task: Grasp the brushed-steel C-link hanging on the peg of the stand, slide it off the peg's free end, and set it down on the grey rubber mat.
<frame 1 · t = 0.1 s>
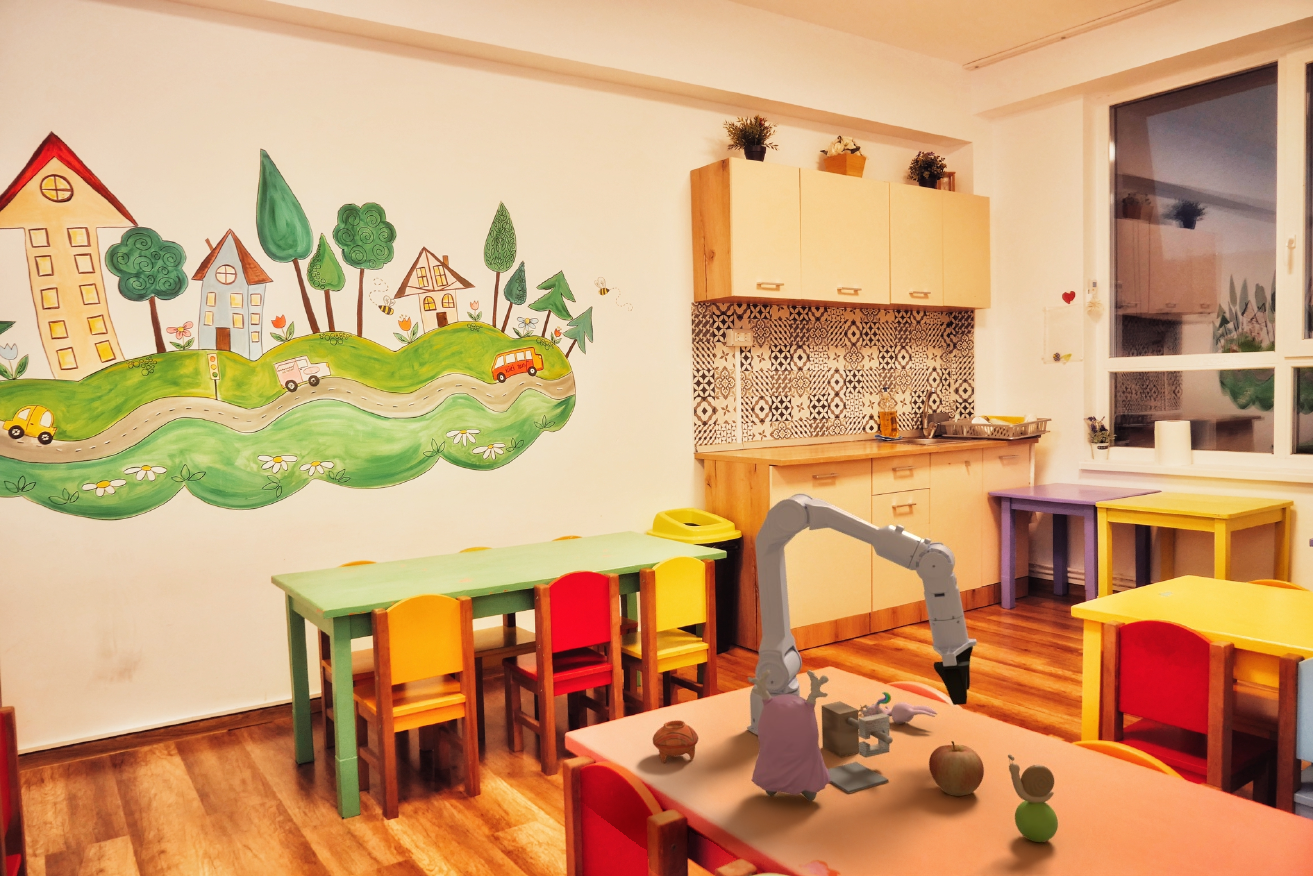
hand: (961, 696, 149), 11 cm above the table, tool pointing down, fingers open, 7 cm apart
rabbit figure: (896, 724, 167), on the table
apple: (956, 793, 137), on the table
stand: (840, 750, 155), on the table
pot: (676, 759, 154), on the table
toy character: (791, 798, 137), on the table
snail figurine: (1033, 841, 122), on the table
link: (874, 753, 146), point 3 cm above the table, touching stand
mat: (852, 778, 143), on the table
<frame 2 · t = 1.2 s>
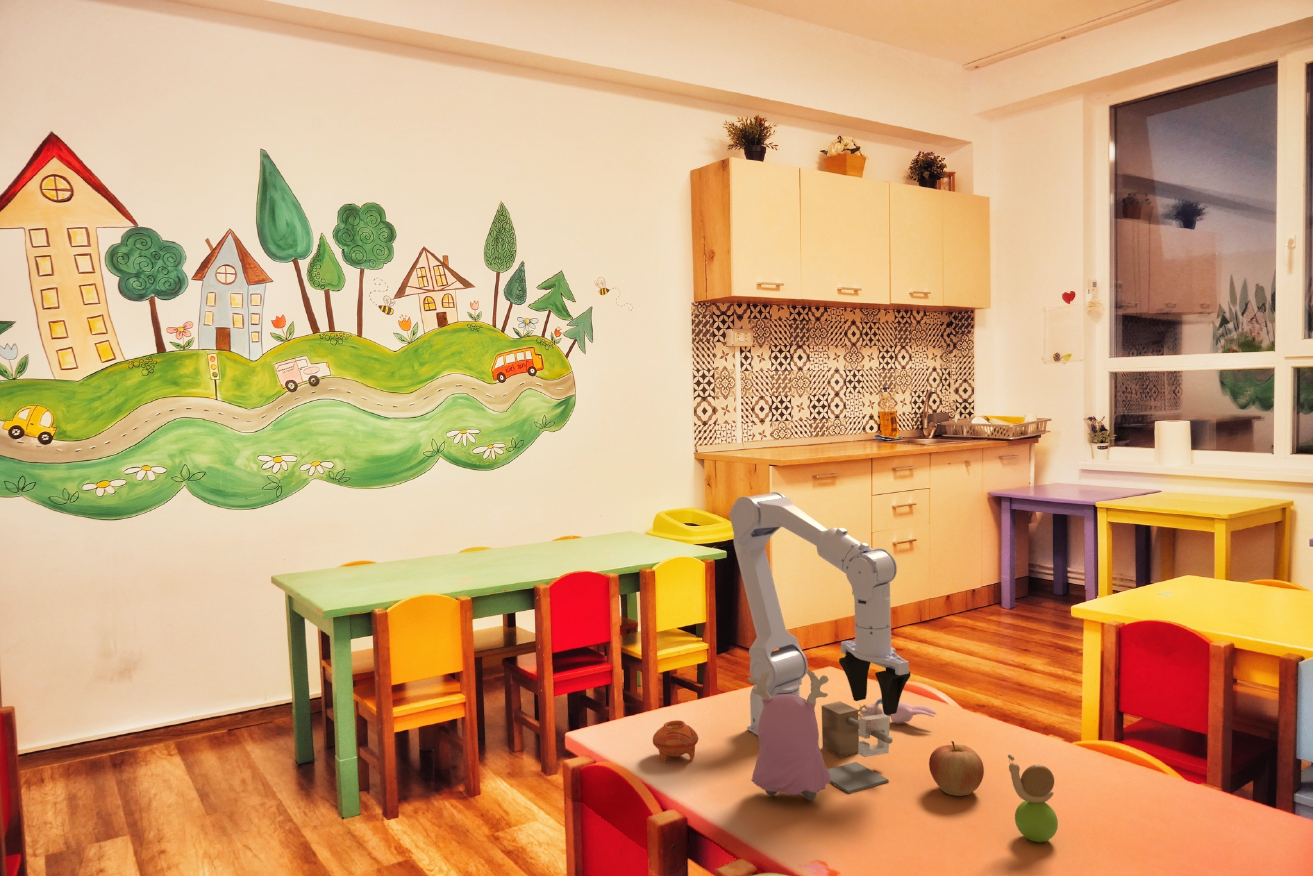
hand: (874, 706, 146), 10 cm above the table, tool pointing down, fingers open, 7 cm apart
nothing on the table moved.
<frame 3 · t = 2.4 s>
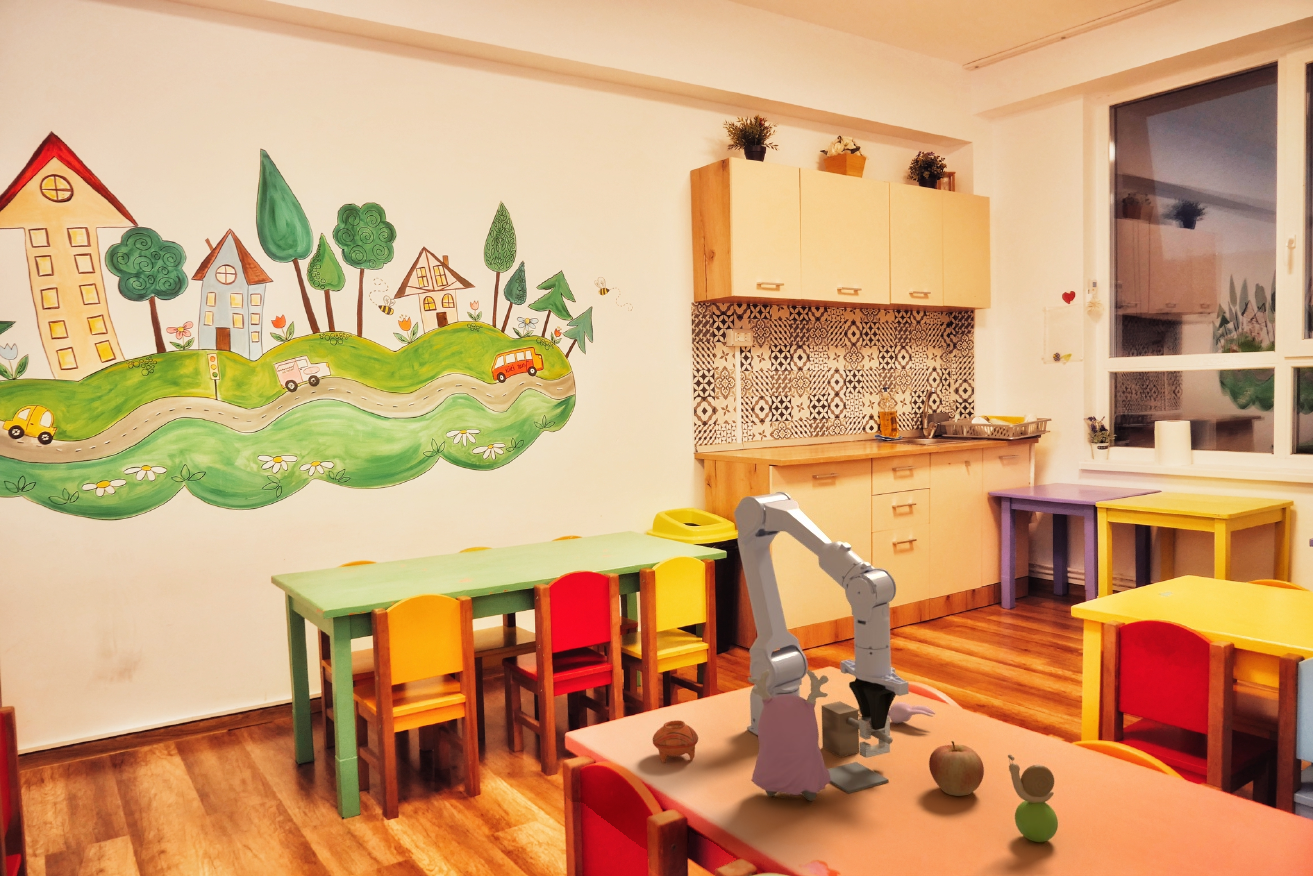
hand: (874, 726, 146), 7 cm above the table, tool pointing down, fingers closed on link, 1 cm apart
link: (874, 753, 146), point 3 cm above the table, touching gripper, stand
everything else where it was.
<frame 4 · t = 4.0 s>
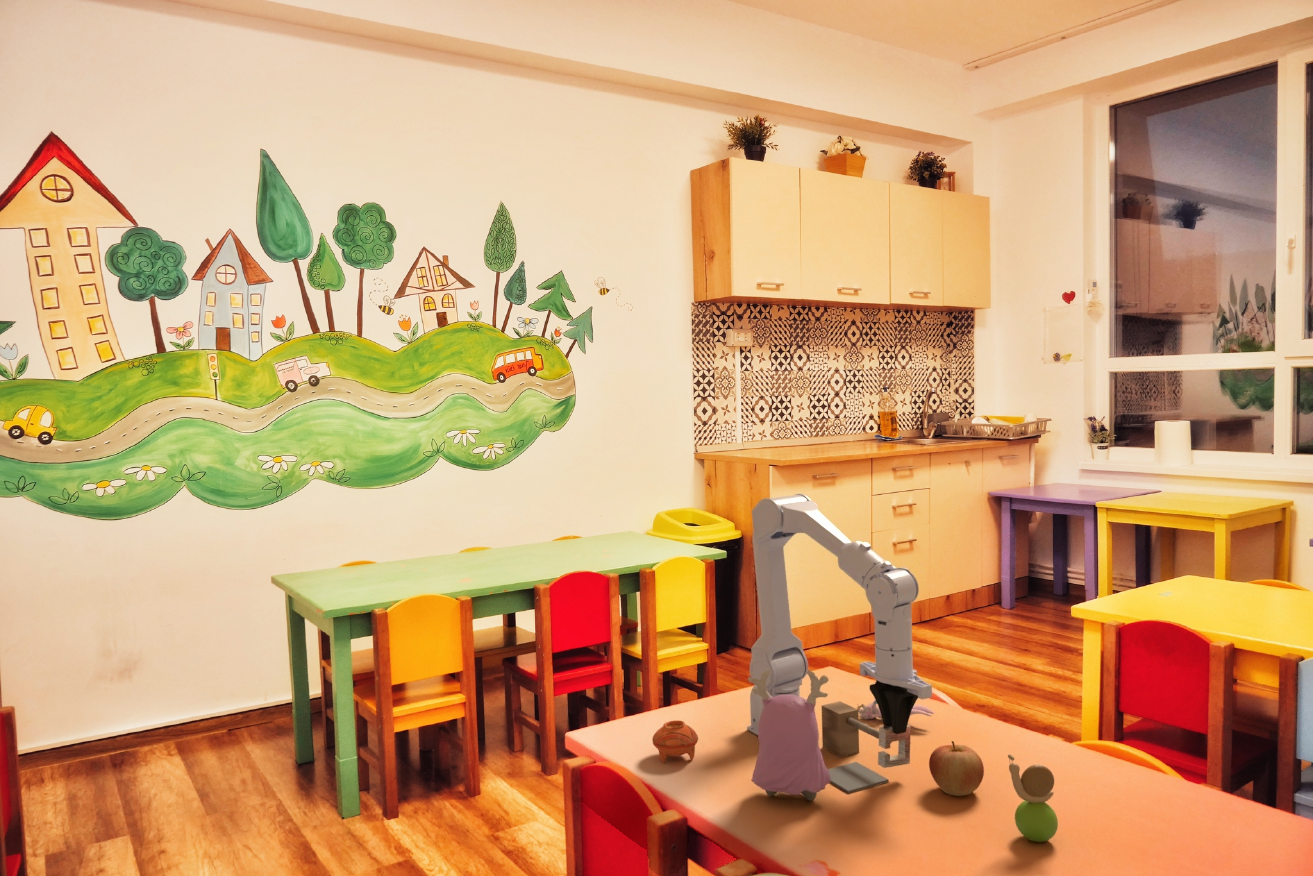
hand: (895, 730, 142), 8 cm above the table, tool pointing down, fingers closed on link, 1 cm apart
link: (893, 764, 142), point 3 cm above the table, touching gripper
everything else where it was.
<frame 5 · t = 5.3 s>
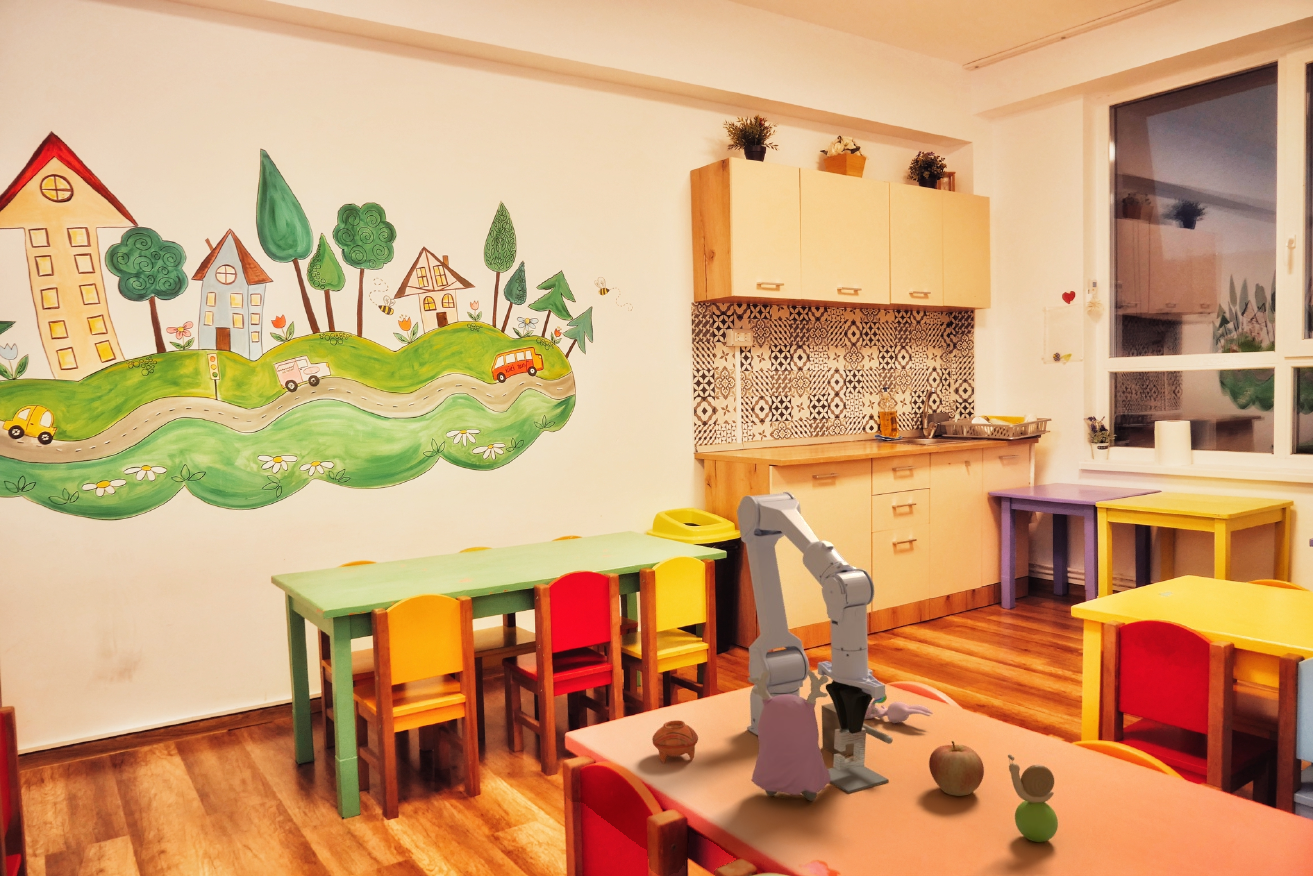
hand: (851, 729, 143), 8 cm above the table, tool pointing down, fingers closed on link, 1 cm apart
link: (848, 766, 143), point 2 cm above the table, touching gripper
everything else where it was.
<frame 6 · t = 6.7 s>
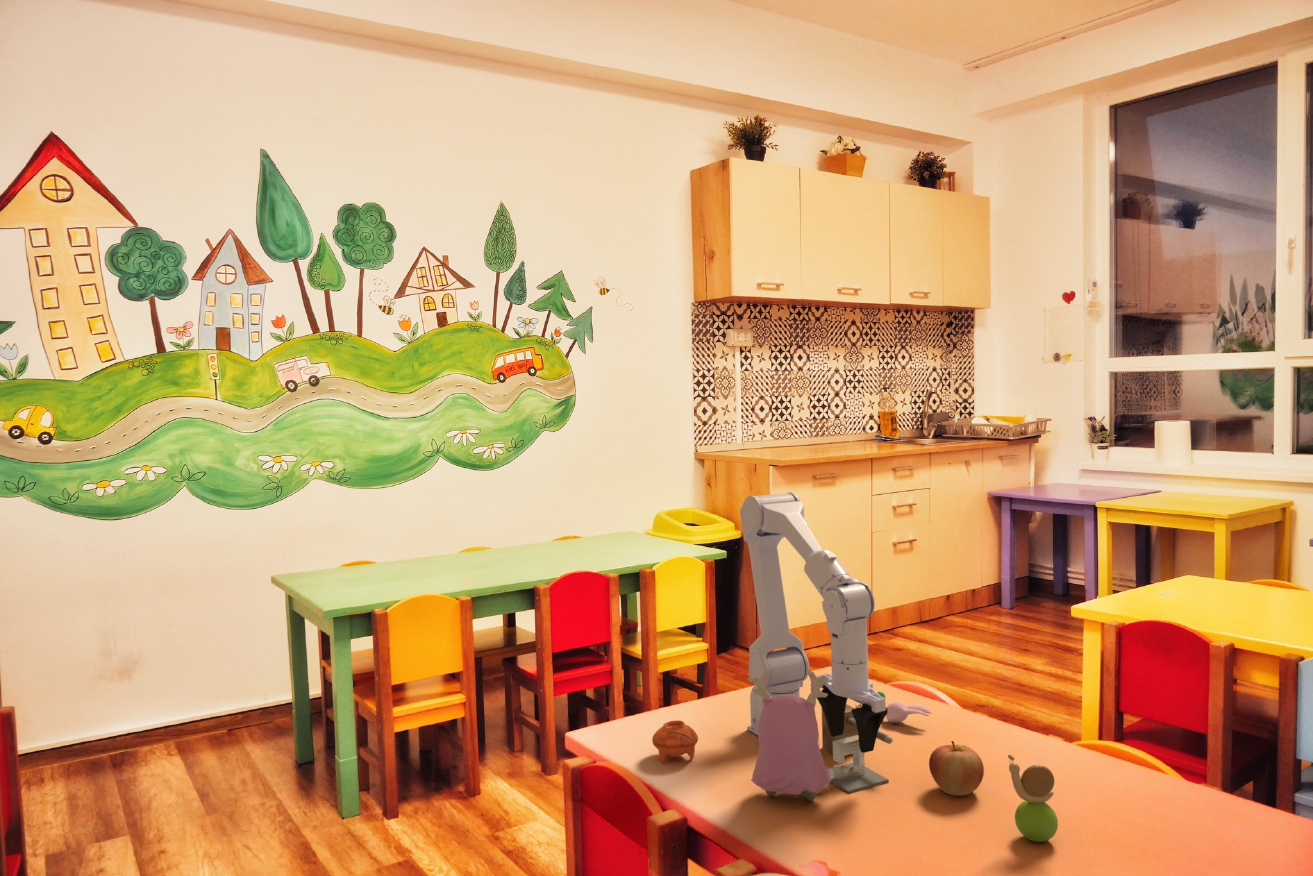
hand: (851, 742, 143), 6 cm above the table, tool pointing down, fingers open, 7 cm apart
link: (849, 776, 143), resting on mat
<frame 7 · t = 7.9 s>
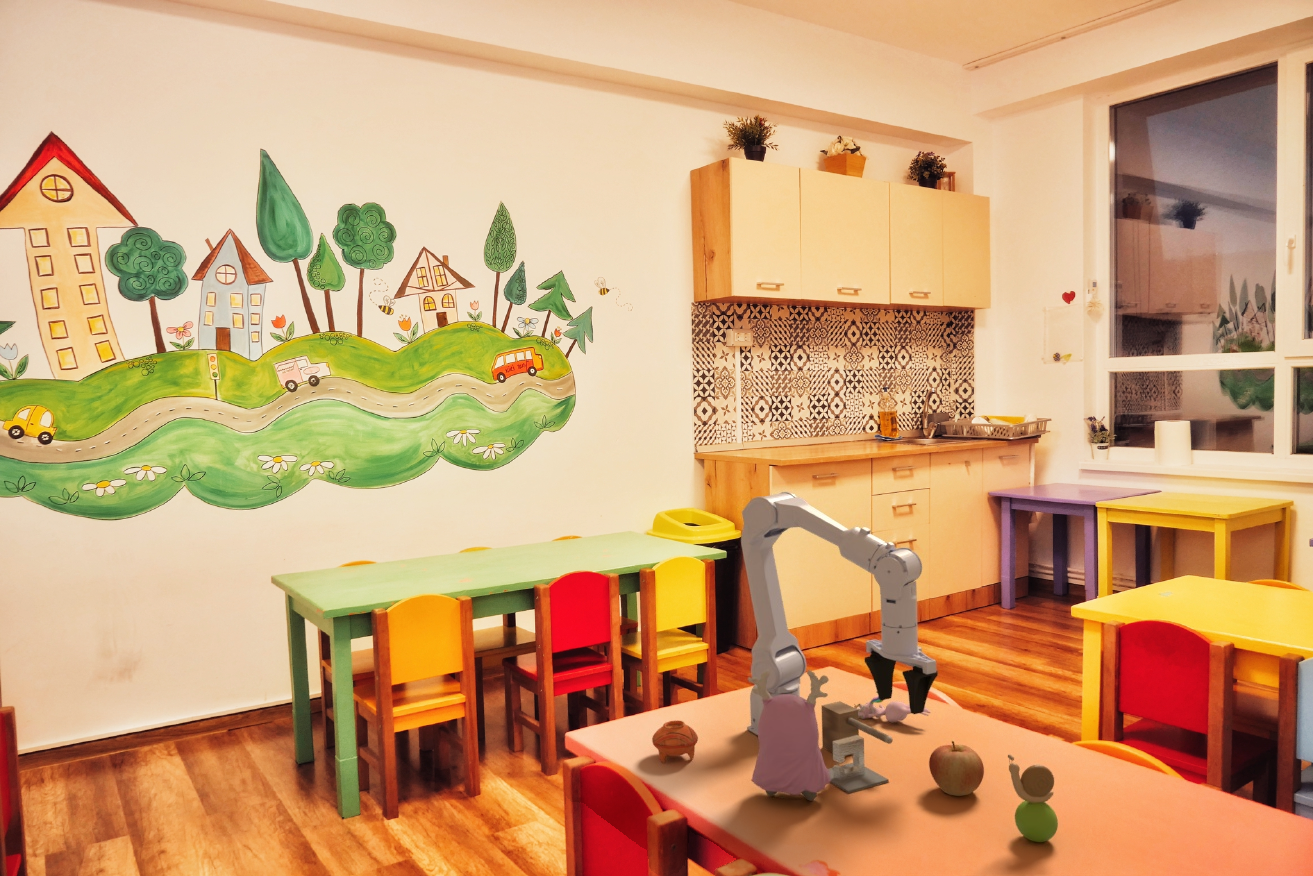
hand: (900, 705, 146), 10 cm above the table, tool pointing down, fingers open, 7 cm apart
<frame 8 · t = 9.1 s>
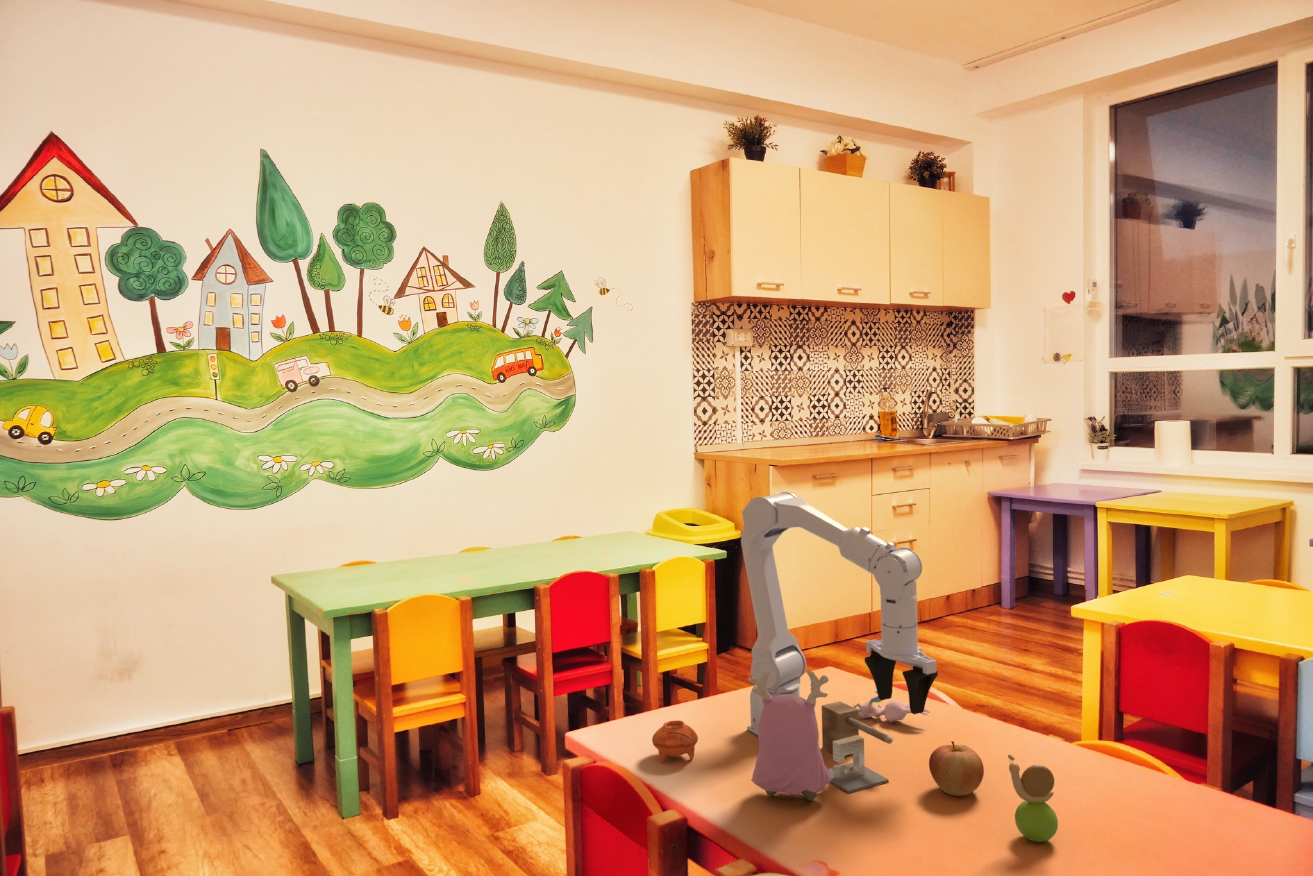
hand: (900, 705, 146), 10 cm above the table, tool pointing down, fingers open, 7 cm apart
at the end: link inside the target area on the mat (0.6 cm from its centre), point 0.4 cm above the mat's base; link touching mat; the gripper is holding nothing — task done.
